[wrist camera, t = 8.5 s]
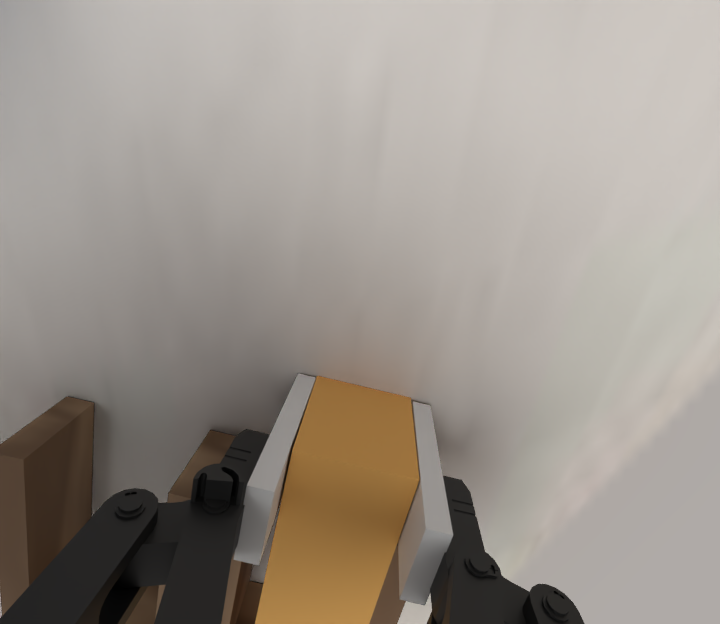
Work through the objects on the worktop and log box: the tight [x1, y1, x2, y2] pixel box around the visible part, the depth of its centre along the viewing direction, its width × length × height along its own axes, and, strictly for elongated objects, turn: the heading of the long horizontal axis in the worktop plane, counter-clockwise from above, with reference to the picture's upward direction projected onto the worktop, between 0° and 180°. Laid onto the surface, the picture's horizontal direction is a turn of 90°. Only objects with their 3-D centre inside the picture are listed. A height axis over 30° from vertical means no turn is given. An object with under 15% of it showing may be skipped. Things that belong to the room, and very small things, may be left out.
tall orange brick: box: [255, 376, 419, 624], centre depth 17 cm, size 4×11×5 cm, turn 167°
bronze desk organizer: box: [0, 397, 406, 624], centre depth 18 cm, size 16×10×4 cm, turn 77°
